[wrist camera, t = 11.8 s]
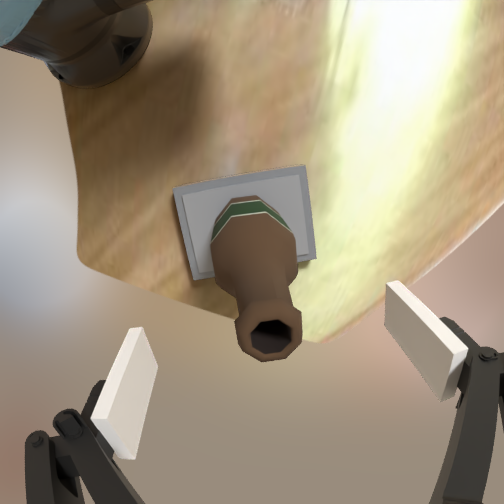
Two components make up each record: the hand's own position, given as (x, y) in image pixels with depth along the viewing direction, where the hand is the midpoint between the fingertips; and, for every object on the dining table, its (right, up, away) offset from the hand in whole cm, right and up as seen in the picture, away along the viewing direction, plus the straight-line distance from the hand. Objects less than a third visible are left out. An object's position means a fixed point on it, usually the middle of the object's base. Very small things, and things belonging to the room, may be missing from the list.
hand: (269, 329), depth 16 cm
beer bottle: (-1, +7, +22) cm, 24 cm away
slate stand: (-2, +8, +24) cm, 26 cm away
